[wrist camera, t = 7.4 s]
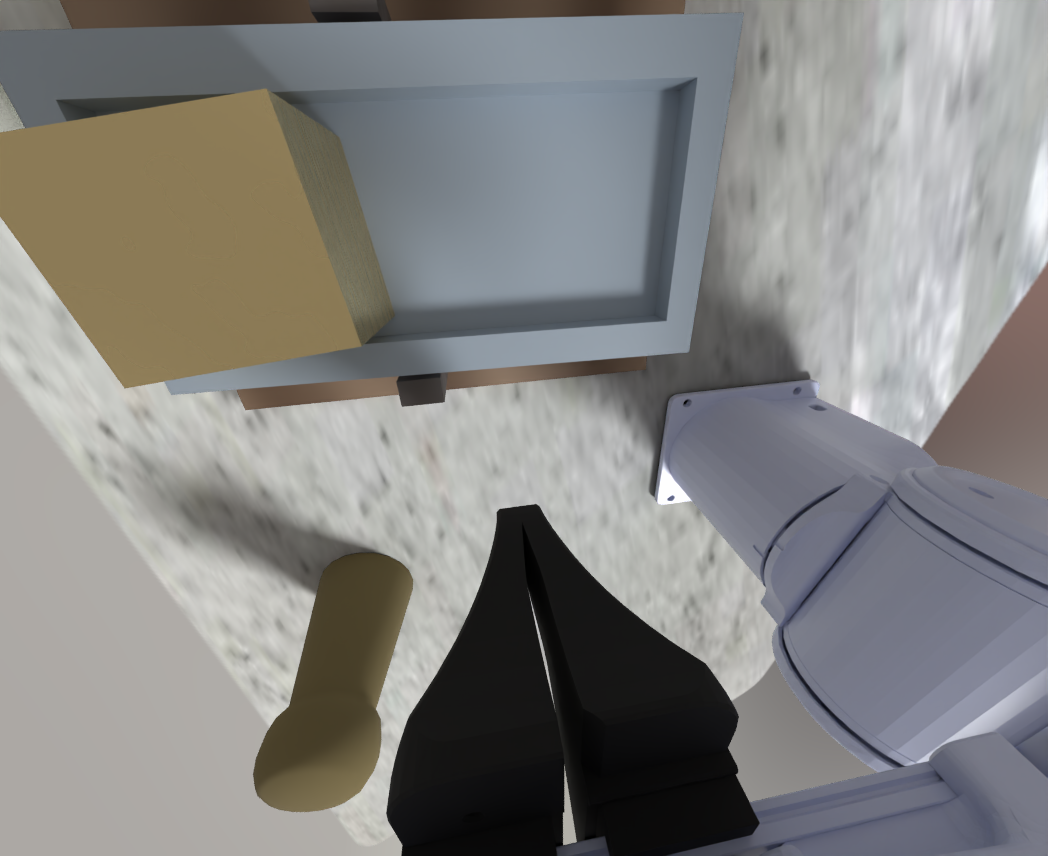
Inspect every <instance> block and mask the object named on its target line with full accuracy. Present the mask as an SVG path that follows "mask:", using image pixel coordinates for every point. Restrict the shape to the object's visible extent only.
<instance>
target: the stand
mask: <svg viewBox="0 0 1048 856" xmlns="http://www.w3.org/2000/svg"><path fill="white" fill-rule="evenodd" d="M60 2H61V4H62V7H63V9H64V11H65V13H66V15H67V18H68V20H69V22H70V24H71V26H72V29H94V28H135V27H176V26H217V25H258V24H299V23H340V22H381V21H422V20H463V19H504V18H545V17H586V16H627V15H668V14H684V9H685V0H60ZM646 361H647V356H638V357H626V358H614V359H602V360H590V361H578V362H566V363H553V364H541V365H529V366H517V367H505V368H493V369H480V370H468V371H456V372H444V373H432V374H420V375H407V376H395V377H383V378H371V379H359V380H347V381H334V382H322V383H310V384H298V385H286V386H274V387H261V388H249V389H237V392H238V395H239V397H240V399H241V401H242V403H243V406H244V408H245V410H251V409H261V408H271V407H281V406H291V405H301V404H311V403H321V402H330V401H340V400H350V399H360V398H370V397H380V396H390V395H399V396H400V401H401V405H402V407H404V406H413V405H423V404H432V403H442V402H445V394H446V390H449V389H459V388H469V387H478V386H488V385H498V384H508V383H518V382H528V381H538V380H547V379H557V378H567V377H577V376H587V375H597V374H607V373H617V372H626V371H636V370H646Z"/></svg>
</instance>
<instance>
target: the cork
mask: <svg viewBox="0 0 1048 856" xmlns="http://www.w3.org/2000/svg"><path fill="white" fill-rule="evenodd" d="M412 590H413V579H412V576H411V574H410V572H409V570H408V569H407V568H406V567H405V566H404V565H403V564H402V563H401V562H399V561H397V560H395V559H393V558H391V557H389V556H385V555H381V554H377V553H356V554H351V555H346V556H343V557H341V558H339V559H337V560H335V561H333V562H332V563H331V564H330V565H329V566H328V567H327V568H326V569H325V570H324V571H323V574H322V576H321V579H320V582H319V586H318V590H317V594H316V598H315V603H314V607H313V611H312V615H311V619H310V623H309V627H308V631H307V635H306V639H305V643H304V648H303V652H302V656H301V660H300V664H299V668H298V672H297V676H296V680H295V684H294V688H293V693H292V697H291V701H290V705H289V707H288V708H287V709H286V710H285V711H283V712H282V713H281V714H280V715H279V716H278V717H277V718H276V719H275V720H274V722H273V724H272V725H271V727H270V728H269V730H268V731H267V733H266V736H265V738H264V740H263V743H262V745H261V747H260V750H259V752H258V755H257V757H256V762H255V767H254V773H253V777H254V784H255V790H256V792H257V795H258V796H259V798H261V799H262V800H263V801H264V802H265V803H267V804H268V805H269V806H271V807H274V808H276V809H279V810H284V811H291V812H310V811H319V810H324V809H328V808H332V807H335V806H338V805H340V804H342V803H345V802H346V801H348V800H349V799H351V798H352V797H353V796H355V795H356V794H358V793H359V792H360V791H361V790H362V788H363V787H364V785H365V784H366V782H367V781H368V779H369V777H370V776H371V774H372V773H373V771H374V769H375V766H376V763H377V761H378V758H379V753H380V747H381V719H380V717H379V715H378V713H377V711H376V707H377V704H378V701H379V697H380V694H381V691H382V687H383V684H384V681H385V678H386V674H387V671H388V668H389V665H390V661H391V658H392V655H393V652H394V648H395V645H396V642H397V639H398V635H399V632H400V629H401V626H402V622H403V619H404V616H405V613H406V609H407V606H408V603H409V600H410V596H411V593H412Z"/></svg>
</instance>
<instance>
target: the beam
mask: <svg viewBox="0 0 1048 856" xmlns="http://www.w3.org/2000/svg"><path fill="white" fill-rule="evenodd" d="M743 15H744V13H709V14H668V15H627V16H586V17H545V18H504V19H463V20H422V21H381V22H340V23H299V24H258V25H217V26H176V27H135V28H94V29H53V30H12V31H0V82H1V84H2V86H3V88H4V90H5V92H6V93H7V95H8V97H9V99H10V101H11V103H12V104H13V106H14V108H15V110H16V112H17V114H18V115H19V117H20V119H21V121H22V123H23V125H24V126H25V128H31V127H37V126H43V125H49V124H55V123H61V122H67V121H73V120H79V119H85V118H91V117H97V116H103V115H109V114H115V113H121V112H127V111H133V110H139V109H145V108H151V107H157V106H163V105H170V104H176V103H182V102H188V101H194V100H200V99H206V98H212V97H218V96H224V95H230V94H236V93H242V92H248V91H254V90H260V89H268V90H269V91H271V92H272V93H274V94H275V95H277V96H278V97H280V98H281V99H283V100H284V101H286V102H287V103H289V104H290V105H292V106H293V107H295V108H296V109H298V110H299V111H301V112H302V113H304V114H305V115H307V116H308V117H310V118H311V119H313V120H314V121H316V122H317V123H319V124H320V125H322V126H323V127H325V128H326V129H328V130H329V131H331V132H332V133H334V134H335V135H337V136H338V137H340V141H341V144H342V147H343V150H344V153H345V156H346V160H347V163H348V166H349V169H350V172H351V176H352V179H353V182H354V185H355V188H356V192H357V195H358V198H359V201H360V204H361V208H362V211H363V214H364V217H365V220H366V224H367V227H368V230H369V233H370V236H371V240H372V243H373V246H374V249H375V252H376V256H377V259H378V262H379V265H380V268H381V272H382V275H383V278H384V281H385V284H386V288H387V291H388V294H389V297H390V300H391V304H392V307H393V310H394V313H395V316H394V317H393V318H392V319H391V320H390V321H389V322H388V323H387V324H385V325H384V326H383V327H382V328H381V329H380V330H379V331H378V332H377V333H376V334H375V335H374V336H373V337H371V338H370V339H369V340H368V341H367V342H366V343H365V344H364V345H363V346H362V347H356V348H350V349H345V350H339V351H333V352H328V353H322V354H316V355H311V356H305V357H299V358H294V359H288V360H282V361H277V362H271V363H265V364H260V365H254V366H248V367H243V368H237V369H231V370H226V371H220V372H214V373H209V374H203V375H197V376H192V377H186V378H180V379H175V380H169V381H164V382H165V384H166V386H167V388H168V390H169V391H170V393H171V395H176V394H188V393H201V392H213V391H225V390H237V389H249V388H261V387H274V386H286V385H298V384H310V383H322V382H334V381H347V380H359V379H371V378H383V377H395V376H407V375H420V374H432V373H444V372H456V371H468V370H480V369H493V368H505V367H517V366H529V365H541V364H553V363H566V362H578V361H590V360H602V359H614V358H626V357H638V356H651V355H663V354H675V353H687V352H689V348H690V342H691V336H692V330H693V323H694V317H695V311H696V305H697V299H698V293H699V287H700V280H701V274H702V268H703V262H704V256H705V250H706V243H707V237H708V231H709V225H710V219H711V213H712V206H713V200H714V194H715V188H716V182H717V176H718V169H719V163H720V157H721V151H722V145H723V139H724V133H725V126H726V120H727V114H728V108H729V102H730V96H731V89H732V83H733V77H734V71H735V65H736V59H737V52H738V46H739V40H740V34H741V28H742V22H743Z"/></svg>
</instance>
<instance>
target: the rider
mask: <svg viewBox="0 0 1048 856" xmlns="http://www.w3.org/2000/svg"><path fill="white" fill-rule="evenodd" d="M0 217H1V218H2V220H3V221H4V222H5V224H6V225H7V226H8V228H9V229H10V231H11V232H12V233H13V235H14V236H15V238H16V239H17V240H18V242H19V243H20V244H21V246H22V247H23V249H24V250H25V251H26V253H27V254H28V255H29V257H30V258H31V260H32V261H33V262H34V264H35V265H36V266H37V268H38V269H39V271H40V272H41V273H42V275H43V276H44V277H45V279H46V280H47V282H48V283H49V284H50V286H51V287H52V289H53V290H54V291H55V293H56V294H57V295H58V297H59V298H60V300H61V301H62V302H63V304H64V305H65V306H66V308H67V309H68V311H69V312H70V313H71V315H72V316H73V317H74V319H75V320H76V322H77V323H78V324H79V326H80V327H81V329H82V330H83V331H84V333H85V334H86V335H87V337H88V338H89V340H90V341H91V342H92V344H93V345H94V346H95V348H96V349H97V351H98V352H99V353H100V355H101V356H102V357H103V359H104V360H105V362H106V363H107V364H108V366H109V367H110V369H111V370H112V371H113V373H114V374H115V375H116V377H117V378H118V380H119V381H120V382H121V384H122V385H123V386H124V388H129V387H135V386H141V385H146V384H152V383H158V382H163V381H169V380H175V379H180V378H186V377H192V376H197V375H203V374H209V373H214V372H220V371H226V370H231V369H237V368H243V367H248V366H254V365H260V364H265V363H271V362H277V361H282V360H288V359H294V358H299V357H305V356H311V355H316V354H322V353H328V352H333V351H339V350H345V349H350V348H356V347H362V346H363V345H364V344H365V343H366V342H367V341H368V340H369V339H370V338H371V337H373V336H374V335H375V334H376V333H377V332H378V331H379V330H380V329H381V328H382V327H383V326H384V325H385V324H387V323H388V322H389V321H390V320H391V319H392V318H393V317H394V316H395V313H394V310H393V307H392V304H391V300H390V297H389V294H388V291H387V288H386V284H385V281H384V278H383V275H382V272H381V268H380V265H379V262H378V259H377V256H376V252H375V249H374V246H373V243H372V240H371V236H370V233H369V230H368V227H367V224H366V220H365V217H364V214H363V211H362V208H361V204H360V201H359V198H358V195H357V192H356V188H355V185H354V182H353V179H352V176H351V172H350V169H349V166H348V163H347V160H346V156H345V153H344V150H343V147H342V144H341V141H340V137H338V136H337V135H335V134H334V133H332V132H331V131H329V130H328V129H326V128H325V127H323V126H322V125H320V124H319V123H317V122H316V121H314V120H313V119H311V118H310V117H308V116H307V115H305V114H304V113H302V112H301V111H299V110H298V109H296V108H295V107H293V106H292V105H290V104H289V103H287V102H286V101H284V100H283V99H281V98H280V97H278V96H277V95H275V94H274V93H272V92H271V91H269V90H268V89H260V90H254V91H248V92H242V93H236V94H230V95H224V96H218V97H212V98H206V99H200V100H194V101H188V102H182V103H176V104H170V105H163V106H157V107H151V108H145V109H139V110H133V111H127V112H121V113H115V114H109V115H103V116H97V117H91V118H85V119H79V120H73V121H67V122H61V123H55V124H49V125H43V126H37V127H31V128H25V129H19V130H13V131H7V132H1V133H0Z"/></svg>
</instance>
